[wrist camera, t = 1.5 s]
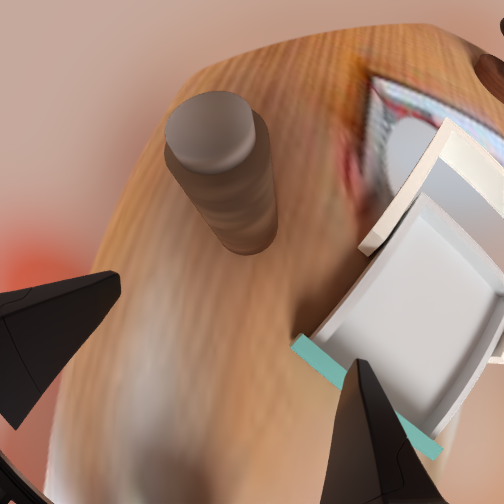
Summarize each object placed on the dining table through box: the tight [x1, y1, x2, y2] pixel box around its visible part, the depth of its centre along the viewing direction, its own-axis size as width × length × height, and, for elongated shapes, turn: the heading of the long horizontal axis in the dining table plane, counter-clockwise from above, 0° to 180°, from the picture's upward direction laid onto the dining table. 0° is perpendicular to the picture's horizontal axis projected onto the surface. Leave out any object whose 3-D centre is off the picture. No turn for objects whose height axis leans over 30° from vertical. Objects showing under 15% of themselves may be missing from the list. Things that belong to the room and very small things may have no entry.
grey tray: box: [289, 192, 504, 461], centre depth 18 cm, size 16×15×4 cm
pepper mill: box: [164, 91, 278, 255], centre depth 18 cm, size 5×5×14 cm
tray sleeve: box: [357, 117, 504, 364], centre depth 19 cm, size 16×17×4 cm
